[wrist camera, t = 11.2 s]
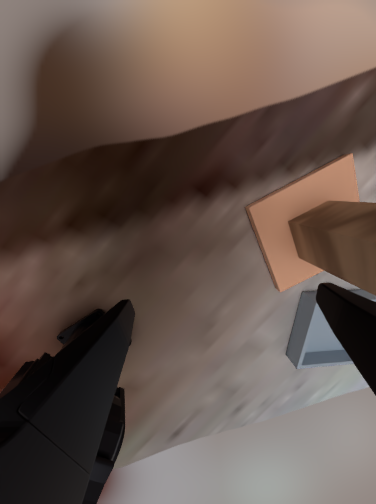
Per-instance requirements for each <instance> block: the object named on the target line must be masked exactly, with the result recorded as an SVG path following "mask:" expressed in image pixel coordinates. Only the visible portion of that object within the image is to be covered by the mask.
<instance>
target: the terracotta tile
mask: <svg viewBox="0 0 376 504" xmlns="http://www.w3.org/2000/svg"><path fill="white" fill-rule="evenodd" d="M328 200H330V201H348V202H360V201H359V194H358V188H357V181H356V174H355V167H354V160H353V154H352V153H351V154H346V155H343V156H341V157H339V158H337V159H335V160H333V161H331V162H329V163H327V164H326V165H324V166H322V167H320V168H318V169H316V170H314V171H312V172H310V173H309V174H307V175H305V176H303V177H301V178H299V179H297V180H295V181H293V182H292V183H290V184H288V185H286V186H284V187H282V188H280V189H278V190H276V191H275V192H273V193H271V194H269V195H267V196H265V197H263V198H261V199H259V200H258V201H256V202H254V203H252V204H250V205H248V206H246V207H245V208H246V211H247V213H248V216H249V219H250V221H251V224H252V227H253V229H254V232H255V235H256V237H257V240H258V242H259V245H260V248H261V250H262V253H263V256H264V258H265V261H266V264H267V266H268V269H269V272H270V274H271V277H272V279H273V282H274V285H275V287H276V289H277V290H278V291H279V292H282V291H284V290H286V289H288V288H290V287H292V286H294V285H296V284H298V283H300V282H302V281H304V280H306V279H308V278H310V277H312V276H314V275H316V274H318V273H320V272H322V271H324V270H322V269H320V268H318V267H316V266H314V265H312V264H310V263H308V262H306V261H304V260H302V259H300V258H299V257H298V254H297V251H296V247H295V244H294V241H293V237H292V234H291V231H290V227H289V224H288V221H290V220H292V219H294V218H296V217H297V216H299V215H301V214H303V213H305V212H307V211H309V210H311V209H313V208H315V207H317V206H319V205H321V204H323V203H325V202H326V201H328Z"/></svg>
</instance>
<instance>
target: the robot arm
mask: <svg viewBox="0 0 376 504" xmlns="http://www.w3.org/2000/svg"><path fill="white" fill-rule="evenodd" d="M316 302H317V304H318V306H319V308H320V309H321V311H322V313H323V315H324V317H325V319H326V321H327V322H328V324H329V326H330V328H331V330H332V331H333V333H334V335H335V336H336V338H337V339H338V341H339V342H340V344H341V345H342V347H343V348H344V350H345V351H346V353H347V354H348V355H349V357H350V358H351V360H352V361H353V363H354V364H355V366H356V367H357V369H358V370H359V372H360V373H361V375H362V376H363V378H364V379H365V381H366V382H367V384H368V385H369V386H370V388H371V389H372V391H373V392H374V394H375V395H376V302H375V301H372V300H370V299H368V298H365V297H363V296H360V295H358V294H356V293H353V292H351V291H349V290H346V289H344V288H342V287H339V286H337V285H335V284H332V283H320V284H319V285H318V289H317V293H316ZM97 313H99V314H97ZM134 317H135V311H134V308H133V305H132V303H131V301H130V300H129V299H126V300H121V301H120V302H118V303H117V304H116V305H115V306H114V307H112V308H111V309H110V310H109V311H108V312H106V313H104V312H103V311H102V310H100V309H97V310H95V311H94V312H92V313H90V314H89V315H87V316H86V317H84V318H83V319H81V320H79V321H78V322H76V323H75V324H73V325H72V326H70V327H68V328H67V329H65V330H64V331H62V332H60V333H59V335H58V336H57V339H58V340H59V341H60V342H61V343H63V344H64V346H63V347H62V349H61V350H60V351H59V352H58V353H57V354H56V355H55V356H54V357H51V356H50V354H48V353H46V352H45V353H44V354H43V355H42V356H41V357H40V359H36V360H35V361H30V362H25V364H24V365H23V366H22V367H21V368H20V370H19V371H18V372H17V373H16V375H15V376H14V377H13V378H12V379H11V381H10V382H9V383H8V384H7V386H6V387H5V388H4V389H3V391H2V392H1V393H0V504H96V503H97V501H98V499H99V496H100V494H101V491H102V489H103V487H104V484H105V482H106V480H107V479H108V476H109V475H110V473H111V471H112V469H113V467H114V463H115V461H116V459H117V456H118V454H119V451H120V448H121V445H122V442H123V438H124V432H125V396H124V389H123V388H121V387H119V388H118V387H117V384H118V381H119V378H120V374H121V371H122V368H123V364H124V361H125V358H126V354H127V351H128V347H129V346H130V345H131V333H132V328H133V323H134ZM62 336H63V337H62Z"/></svg>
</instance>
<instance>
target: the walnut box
mask: <svg viewBox="0 0 376 504" xmlns="http://www.w3.org/2000/svg"><path fill="white" fill-rule="evenodd" d="M288 224H289V227H290V231H291V234H292V237H293V241H294V244H295V247H296V251H297V254H298V257H299V258H300V259H302V260H304V261H306V262H308V263H310V264H312V265H314V266H316V267H318V268H320V269H322V270H324V271H326V272H328V273H330V274H332V275H334V276H337V277H339V278H341V279H343V280H345V281H347V282H349V283H351V284H353V285H355V286H357V287H359V288H361V289H363V290H365V291H367V292H369V293H371V294H373V295H375V296H376V203H367V202H348V201H330V200H328V201H326V202H325V203H323V204H321V205H319V206H317V207H315V208H313V209H311V210H309V211H307V212H305V213H303V214H301V215H299V216H297V217H296V218H294V219H292V220H290V221H288Z"/></svg>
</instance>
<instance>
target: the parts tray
mask: <svg viewBox="0 0 376 504" xmlns="http://www.w3.org/2000/svg"><path fill="white" fill-rule="evenodd" d="M349 291H351V292H353V293H356V294H358V295H360V296H363V297H365V298H368V299H370V300H372V301H375V302H376V296H375V295H373V294H371V293H369V292H367V291H365V290H349ZM316 293H317V291H306V292H302V295H301V298H300V302H299V306H298V310H297V314H296V317H295V321H294V325H293V329H292V333H291V336H290V340H289V344H288V348H287V352H286V355H287V357H288V358H289V359H290V361H291V362H292V363H293V365H294V366H295V367H296V369H302V368H313V367H323V366H334V365H345V364H354V363H353V361H352V360H351V358H350V357H349V355H348V354H347V353H346V351H345V350H344V348H343V347H342V345H341V344H340V342H339V341H338V339H337V338H336V336H335V335H334V333H333V331H332V330H331V328H330V326H329V324H328V322H327V321H326V319H325V317H324V315H323V313H322V311H321V309H320V308H319V306H318V304H317V302H316Z"/></svg>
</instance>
